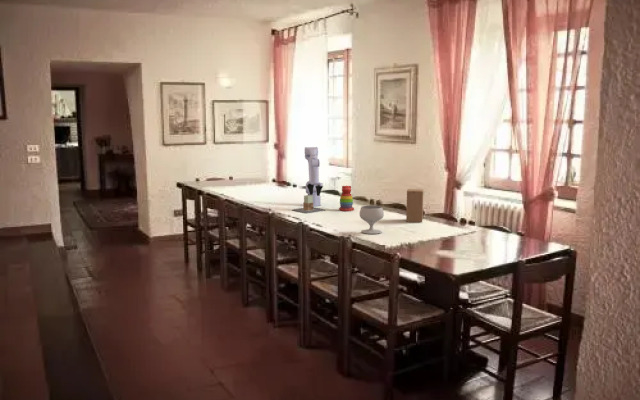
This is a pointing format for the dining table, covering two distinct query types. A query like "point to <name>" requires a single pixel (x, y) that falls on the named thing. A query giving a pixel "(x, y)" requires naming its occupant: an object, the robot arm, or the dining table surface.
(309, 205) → the walnut block
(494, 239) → the dining table surface
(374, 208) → the chalice
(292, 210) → the blueprint board
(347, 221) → the dining table surface
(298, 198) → the dining table surface
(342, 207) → the stacking bear
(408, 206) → the wooden block
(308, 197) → the sage block
